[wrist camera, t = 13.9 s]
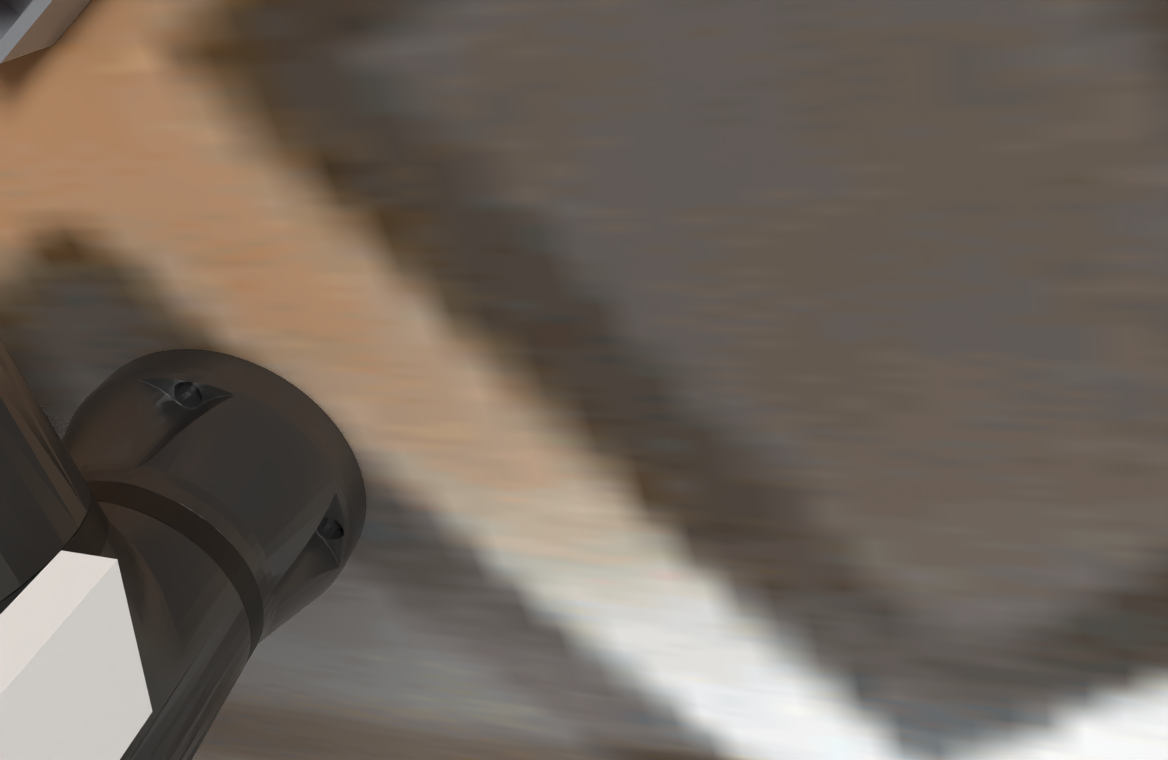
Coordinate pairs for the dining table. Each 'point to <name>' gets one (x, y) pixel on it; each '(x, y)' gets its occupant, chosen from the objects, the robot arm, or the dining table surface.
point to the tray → (34, 24)
